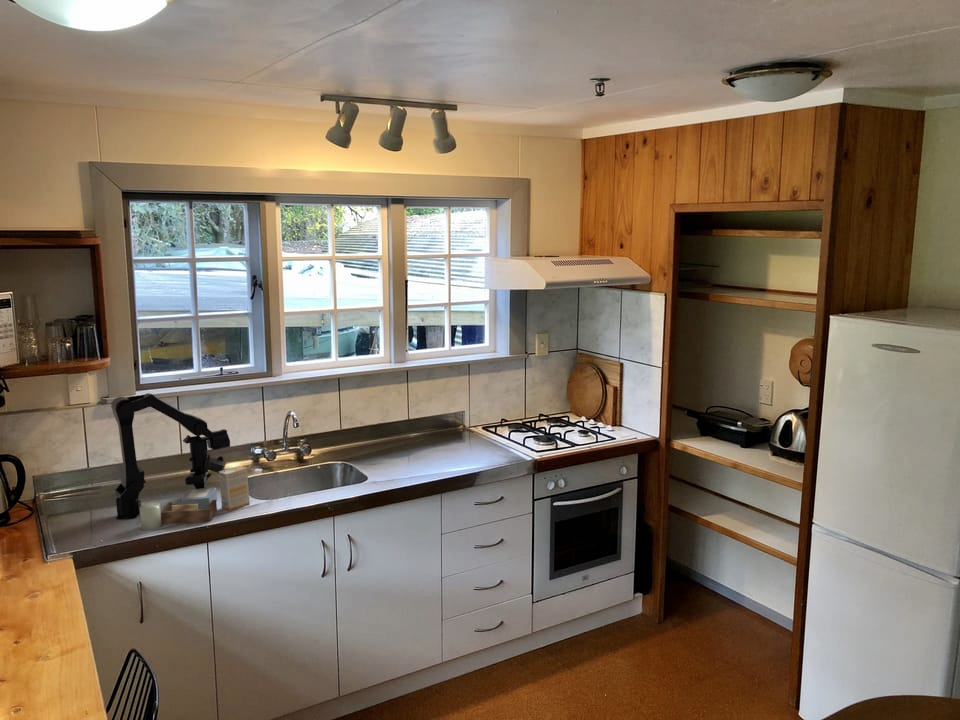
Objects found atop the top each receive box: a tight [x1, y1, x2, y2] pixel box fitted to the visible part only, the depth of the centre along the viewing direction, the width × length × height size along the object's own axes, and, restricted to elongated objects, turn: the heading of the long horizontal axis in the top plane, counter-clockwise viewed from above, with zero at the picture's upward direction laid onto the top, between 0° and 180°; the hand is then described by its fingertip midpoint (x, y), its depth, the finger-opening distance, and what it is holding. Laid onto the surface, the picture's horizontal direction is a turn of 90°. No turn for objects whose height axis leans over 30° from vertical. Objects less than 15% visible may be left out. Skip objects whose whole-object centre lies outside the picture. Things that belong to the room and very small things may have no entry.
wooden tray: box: [161, 500, 218, 525], centre depth 249 cm, size 15×10×6 cm, turn 97°
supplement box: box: [218, 465, 251, 511], centre depth 259 cm, size 8×5×13 cm, turn 141°
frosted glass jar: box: [139, 502, 163, 531], centre depth 242 cm, size 6×6×7 cm
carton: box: [180, 487, 218, 509], centre depth 260 cm, size 9×11×5 cm
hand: (202, 495), depth 267 cm, fingers closed
